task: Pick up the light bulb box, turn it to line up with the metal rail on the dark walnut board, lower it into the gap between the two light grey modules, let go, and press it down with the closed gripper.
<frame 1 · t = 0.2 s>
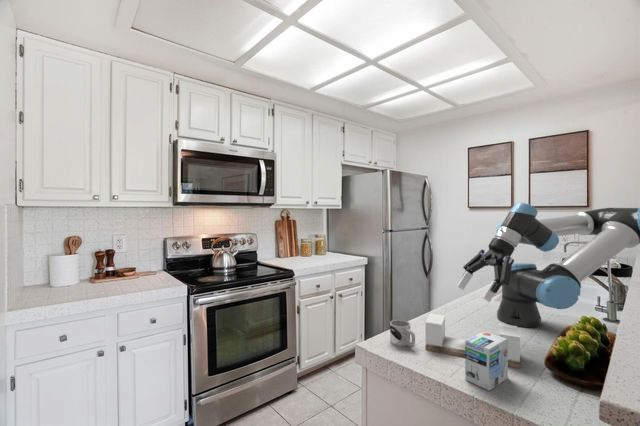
hand: (472, 293, 108), 16 cm above the countertop, tool tilted 35°, fingers open, 13 cm apart
mounted modules: (470, 335, 99), on the rail board, point 5 cm above the countertop
mug: (403, 345, 105), on the countertop
light bulb box: (486, 379, 84), on the countertop
rail board: (470, 351, 99), on the countertop
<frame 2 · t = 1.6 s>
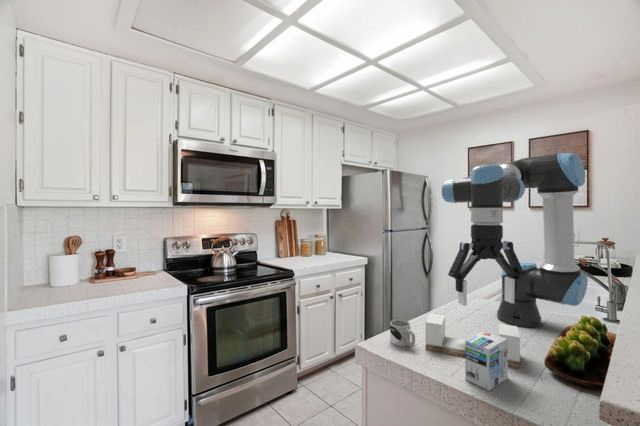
hand: (486, 303, 83), 20 cm above the countertop, tool pointing down, fingers open, 13 cm apart
nothing on the countertop moved.
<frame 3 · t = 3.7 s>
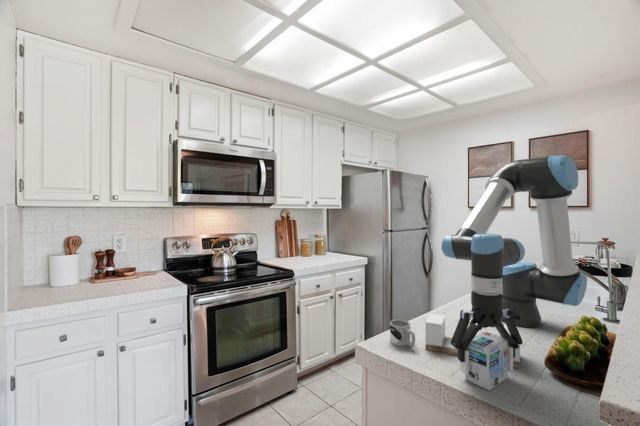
hand: (486, 371, 84), 2 cm above the countertop, tool pointing down, fingers closed on light bulb box, 12 cm apart
light bulb box: (486, 379, 84), on the countertop, touching gripper
everything else where it was.
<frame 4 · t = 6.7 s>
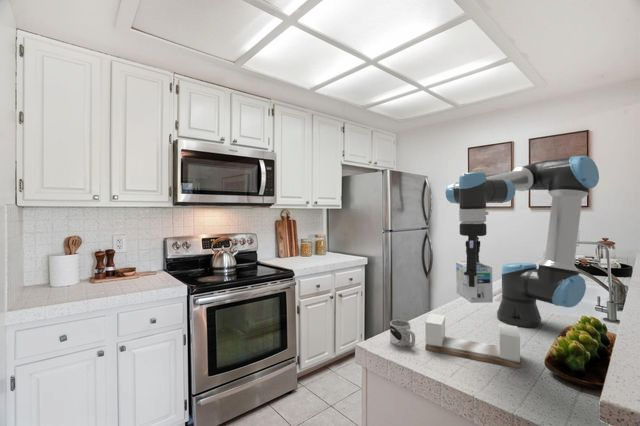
hand: (473, 291, 97), 20 cm above the countertop, tool pointing down, fingers closed on light bulb box, 12 cm apart
light bulb box: (473, 298, 97), point 18 cm above the countertop, touching gripper
everything else where it was.
when the fingers open (5 cm above the countertop, at t = 9.7 s): light bulb box drops 1 cm, resting on rail board.
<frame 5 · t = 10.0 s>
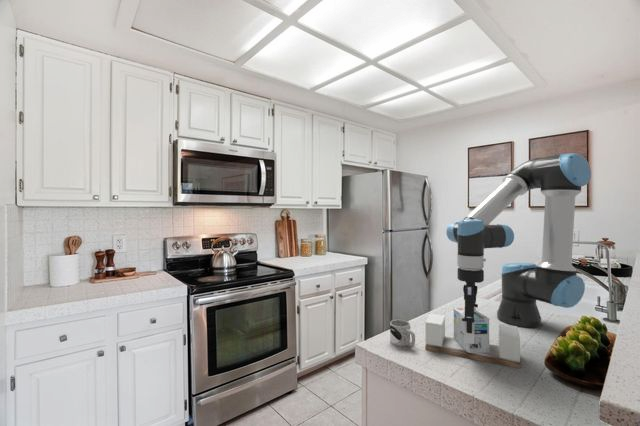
hand: (470, 334, 99), 5 cm above the countertop, tool pointing down, fingers open, 13 cm apart
light bulb box: (470, 346, 99), point 2 cm above the countertop, touching rail board
everything else where it was.
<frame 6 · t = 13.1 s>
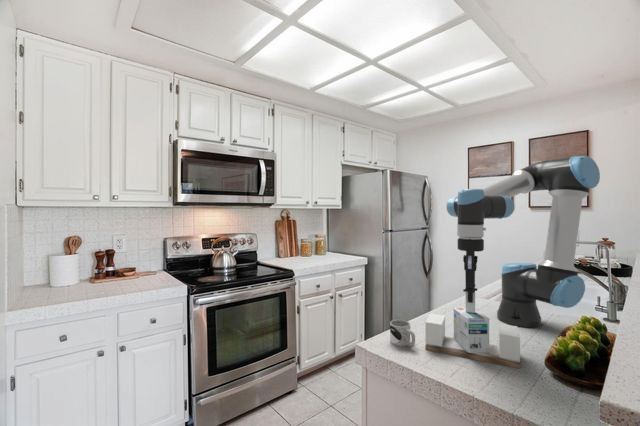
hand: (470, 311, 99), 13 cm above the countertop, tool pointing down, fingers closed
light bulb box: (470, 346, 99), point 2 cm above the countertop, touching gripper, rail board
everything else where it was.
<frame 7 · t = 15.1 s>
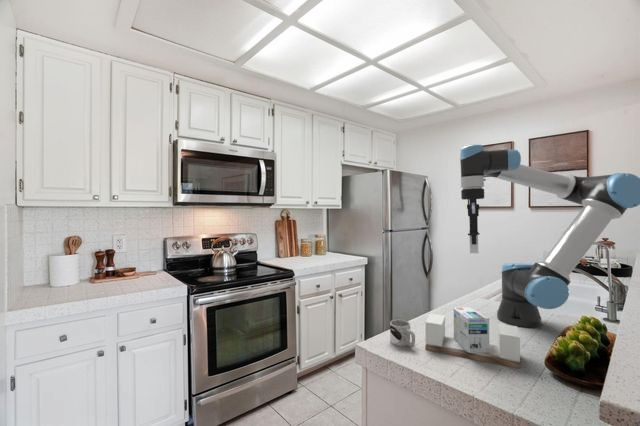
hand: (474, 252, 113), 29 cm above the countertop, tool pointing down, fingers closed
light bulb box: (470, 346, 99), point 2 cm above the countertop, touching rail board
everything else where it was.
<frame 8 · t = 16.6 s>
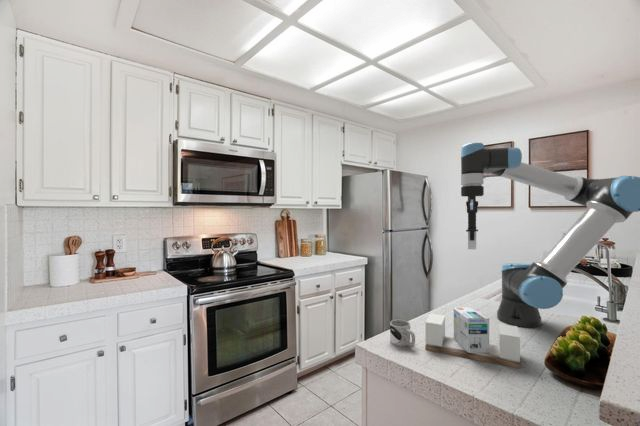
hand: (472, 248, 116), 30 cm above the countertop, tool pointing down, fingers closed
nothing on the countertop moved.
at the end: light bulb box 0.3 cm off-centre on the rail board, point 1.6 cm above the rail board's base; light bulb box tilted 0°; the gripper is holding nothing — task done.
